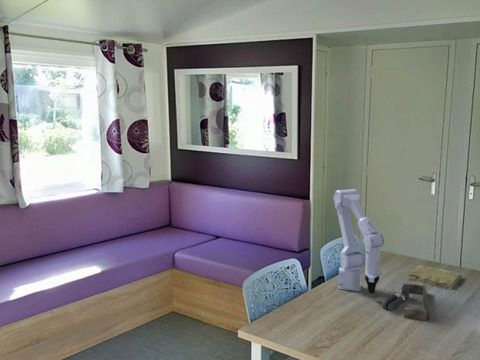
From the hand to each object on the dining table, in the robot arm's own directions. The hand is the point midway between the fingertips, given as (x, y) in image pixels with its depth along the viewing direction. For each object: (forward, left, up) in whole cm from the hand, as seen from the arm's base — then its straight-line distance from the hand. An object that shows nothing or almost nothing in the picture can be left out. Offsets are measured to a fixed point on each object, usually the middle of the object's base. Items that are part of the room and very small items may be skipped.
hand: (371, 292), depth 206 cm
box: (+17, 0, -3) cm, 18 cm away
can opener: (+10, -1, -3) cm, 11 cm away
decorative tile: (+27, +33, -4) cm, 43 cm away
